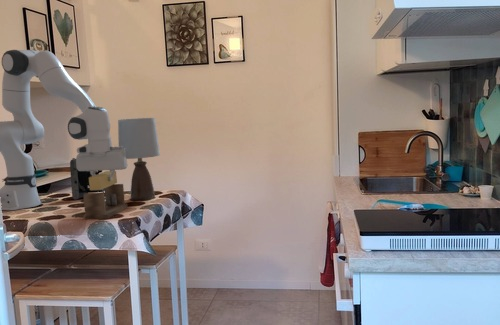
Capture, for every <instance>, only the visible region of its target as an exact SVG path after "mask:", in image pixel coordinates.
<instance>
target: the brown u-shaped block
mask: <svg viewBox="0 0 500 325" xmlns="http://www.w3.org/2000/svg"><path fill="white" fill-rule="evenodd" d="M104 196H105V197H104ZM82 198H83V208H84V214H83V215H82V219H83V220H100V219H101V220H103V219H104V220H108V219H110V218H112V217H113V216H114V215H117V214H118V213H120V212H121V211H123V210H125V209H126V208H128V203H126V201H125V190H124V183H118V184H117V183H116V184H113V185H111V186H109V187H107V188H105V191H104V193H103V192H94V193H84V194H83V197H82Z"/></svg>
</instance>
